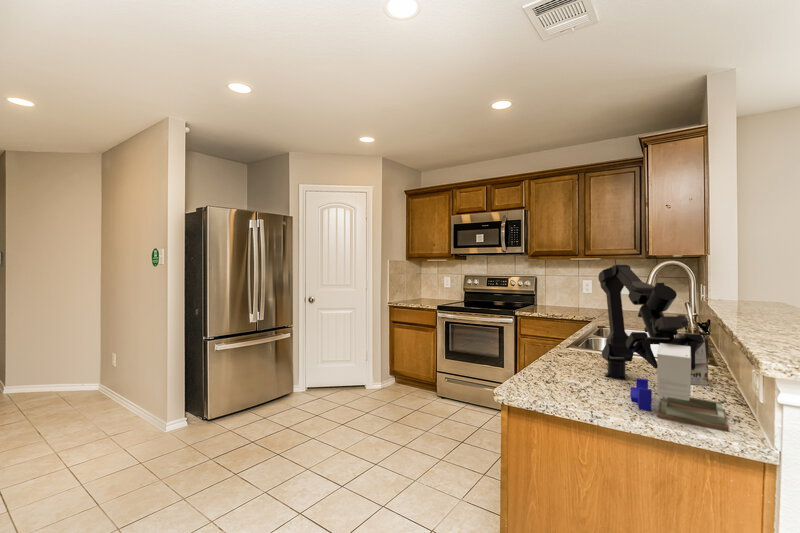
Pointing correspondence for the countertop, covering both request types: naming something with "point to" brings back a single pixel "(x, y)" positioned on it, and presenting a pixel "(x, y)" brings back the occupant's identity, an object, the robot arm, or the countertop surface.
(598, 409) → the countertop surface
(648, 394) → the cable clip
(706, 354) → the coffee box
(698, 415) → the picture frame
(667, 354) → the supplement box
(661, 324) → the robot arm
